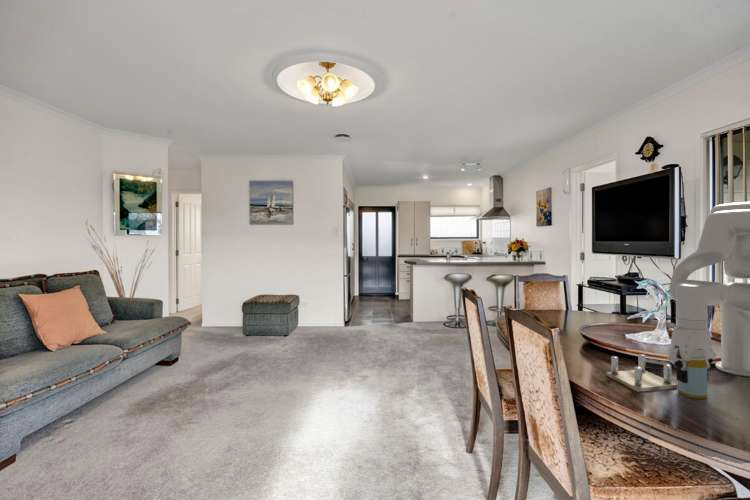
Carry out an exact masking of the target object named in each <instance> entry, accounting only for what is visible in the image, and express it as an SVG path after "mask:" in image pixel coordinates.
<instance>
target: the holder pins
mask: <svg viewBox="0 0 750 500" xmlns="http://www.w3.org/2000/svg"><path fill="white" fill-rule="evenodd" d="M637 356H638V359H637V360H638V361H639V363H638V364H639V365H637V366H634V369H633V370H634V374H635V386H638V387H642V372H643V373H645V372H646V371H645V367H646V362H645V358H646V354H642V353H639V354H638V355H637ZM610 358H611V359H610V362H611V372H612V374H614V375H618V371H619V357H618V356H615V355H612V356H611V357H610ZM638 361H637V362H638ZM663 369H664V375H663V379H664V383H666V384H672V382H673V381H672V364H670V365H669V364H664V365H663Z"/></svg>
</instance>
